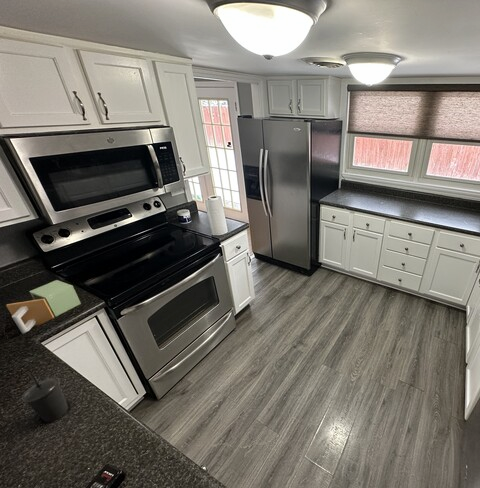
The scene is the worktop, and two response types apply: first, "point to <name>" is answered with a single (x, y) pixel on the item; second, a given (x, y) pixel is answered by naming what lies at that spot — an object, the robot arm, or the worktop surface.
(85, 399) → the worktop surface
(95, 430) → the worktop surface
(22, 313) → the door
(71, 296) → the cupboard
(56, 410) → the drinking cup
